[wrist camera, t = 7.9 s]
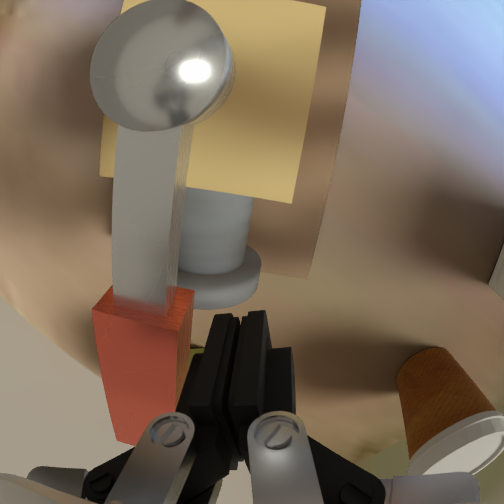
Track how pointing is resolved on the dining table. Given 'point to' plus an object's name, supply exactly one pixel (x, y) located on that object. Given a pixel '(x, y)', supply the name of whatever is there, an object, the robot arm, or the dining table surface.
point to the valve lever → (152, 197)
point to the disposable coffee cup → (446, 416)
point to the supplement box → (498, 276)
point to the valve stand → (262, 146)
